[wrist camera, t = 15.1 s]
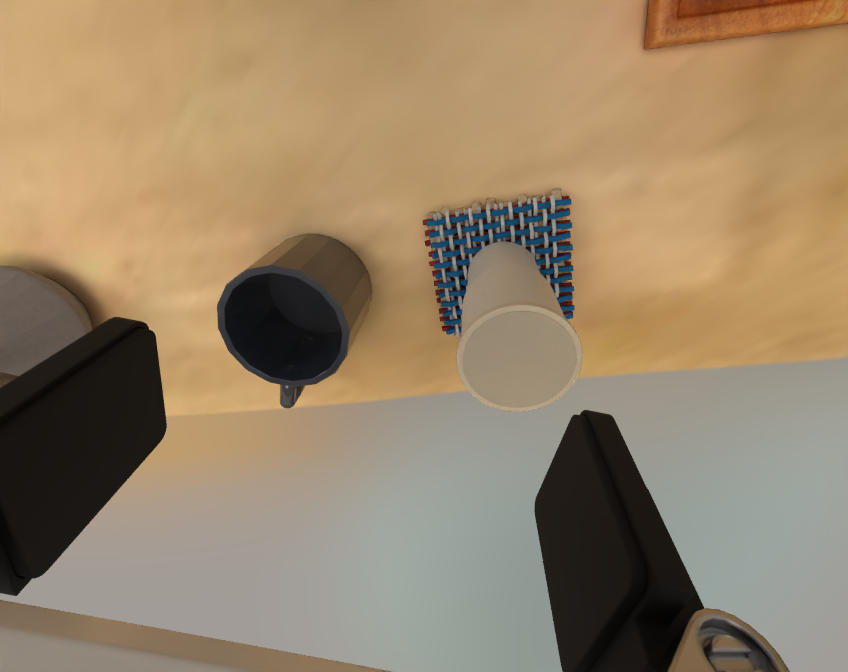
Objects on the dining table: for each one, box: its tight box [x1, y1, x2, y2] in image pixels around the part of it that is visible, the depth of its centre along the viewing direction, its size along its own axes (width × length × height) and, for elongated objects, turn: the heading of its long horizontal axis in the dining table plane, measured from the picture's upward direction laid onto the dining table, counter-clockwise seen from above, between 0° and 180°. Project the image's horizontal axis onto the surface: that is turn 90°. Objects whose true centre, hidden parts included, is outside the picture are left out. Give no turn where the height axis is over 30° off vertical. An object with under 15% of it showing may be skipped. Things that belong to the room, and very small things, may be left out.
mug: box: [217, 234, 372, 408], centre depth 34 cm, size 12×9×8 cm
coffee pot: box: [0, 266, 93, 388], centre depth 33 cm, size 21×12×15 cm, turn 98°
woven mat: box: [423, 189, 574, 338], centre depth 34 cm, size 10×11×2 cm
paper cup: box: [456, 242, 582, 412], centre depth 27 cm, size 6×6×13 cm
